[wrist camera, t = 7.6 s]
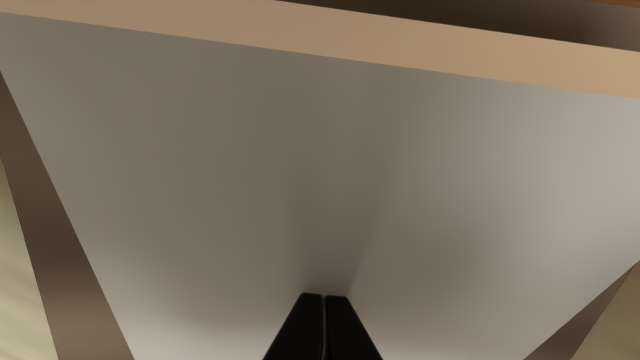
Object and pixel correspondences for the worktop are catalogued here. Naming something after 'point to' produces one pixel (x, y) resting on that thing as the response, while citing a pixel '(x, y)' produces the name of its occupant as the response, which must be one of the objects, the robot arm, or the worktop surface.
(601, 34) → the walnut board
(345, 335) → the robot arm
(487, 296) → the tile
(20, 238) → the worktop surface
